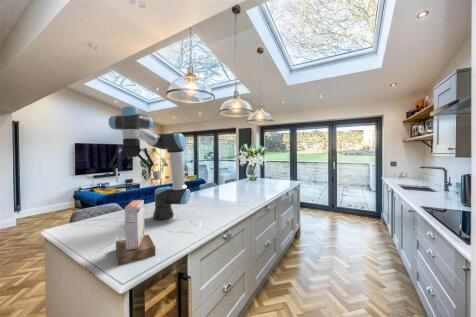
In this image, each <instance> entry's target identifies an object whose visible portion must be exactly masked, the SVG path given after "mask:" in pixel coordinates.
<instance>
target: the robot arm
mask: <svg viewBox="0 0 476 317" xmlns="http://www.w3.org/2000/svg"><path fill="white" fill-rule="evenodd" d="M153 125H154V120H153V118H152V117H151V116H149V115H147V114H143V113H140V110H139V108H138V107H136V106H123V107H122V108H121V115H120V114H119V115H118V114H117V115H111V116H110V117H109V118H108V126H109V128H111V130H118V131H119V130H121V131H122V138H123V139H122V148H118V147H116V148H115V153H114V155H113V157H112V159H111V160H110V162H109V164H108V168H109V169H112V175H113V176H115V182H116V183H119V171H118V170H119V169H118V168H117V167H118V166H119V165H120V164H121V163H122V162H123V160H125V158H126V157H127V158H132V157H133V158H136V157H138V158H139V159H140V161H142V162H143V163H144V165H146V168H145V173H146V174H145V175H146V180H147V181H149V180H150V179H149V174H151V173H152V167H154V166H155V163H154V162H153V160H152V158H151V156H150V154H149V153H148V148H146V147H143V148H141V140H142V141H144V142H145V143H146V144H147V145H148V146H151V147H154V148H156V149H159V150H166V152H167V154H168V155H169V159H170V169H171V170H170V171H171V179H172V180H171V182H172V186H163V187H158V188H156V189H155V190H154V212H153V215H152V220H154V221H165V220H167V221H168V220H170V219H172V218H174V215H175V214H174V211H173V208H172V205H180V206H181V205H187V204H188V202H189V201H190V198H191V190H190V189H189V188H188V186H187V184H185V175H184V174H185V173H184V165H183V152H184V150H185V149H186V147H187V141H186V137H185V136H184V134H182V133H181V132H172V133H171V132H169V133H168V132H167V133H157V132H155V131H151V130H149V129H152V127H153ZM121 152H122V153H123V155H122V156H121V158H119V160H118V161H117V162H116V159H117V157H118V155H119V154H120V153H121ZM141 152H142V153H144V155H145V156H146V159H147V160H148V161H147V160H146V159H145V158H144V157H143V156H142V155H141V154H140V153H141ZM114 162H116V163H115V164H114Z"/></svg>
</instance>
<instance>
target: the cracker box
mask: <svg viewBox="0 0 476 317" xmlns="http://www.w3.org/2000/svg"><path fill="white" fill-rule="evenodd" d="M144 202H145V200H144V199H135V200H132V201H130V203H128V204H127V205H126V206H125V207H124V224H125V226H124V227H125V228H124V229H125V232H124V233H125V239H126V250H133V249H138V248H139V247H140V245H141V243H142V241H143V239H144V235H145V205H144V204H145V203H144ZM125 239H124V240H125Z"/></svg>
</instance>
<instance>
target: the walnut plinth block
mask: <svg viewBox="0 0 476 317" xmlns="http://www.w3.org/2000/svg"><path fill="white" fill-rule="evenodd" d="M115 251H116V260H117V266H121V265H126V264H129V263H133V262H136V261H140V260H144V259H148V258H150V257H154V256H156V245H155V243H154V241H153V240H152V238H151V236H150V235H149V233H148V234H144V239H143V241H142V243H141V245H140V247H139V248H138V249H133V250H126V239H121V240H116V241H115ZM147 257H148V258H147Z"/></svg>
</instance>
